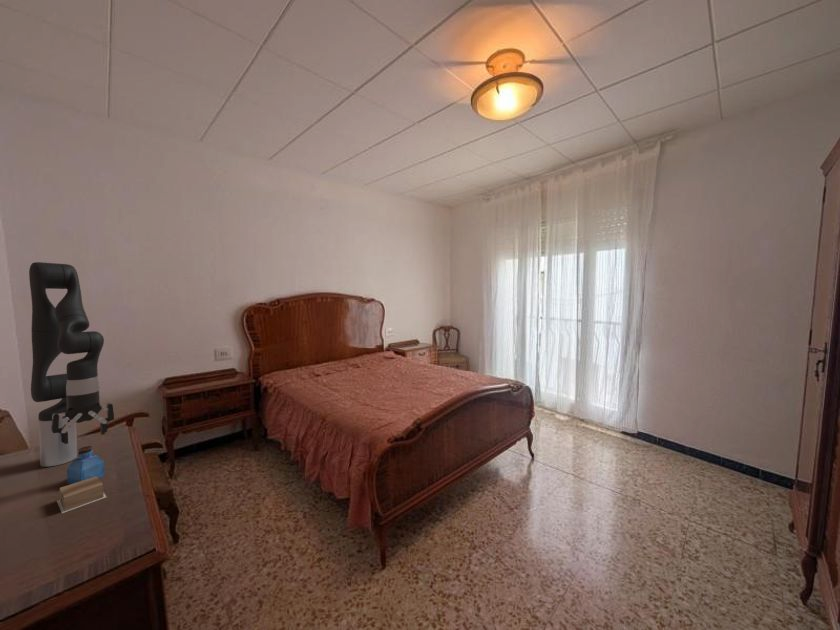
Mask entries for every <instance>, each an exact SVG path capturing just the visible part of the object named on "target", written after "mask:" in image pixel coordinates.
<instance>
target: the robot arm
mask: <svg viewBox="0 0 840 630" xmlns="http://www.w3.org/2000/svg"><path fill="white" fill-rule="evenodd" d="M28 276H29V278H28V279H29V288H30V296H31V298H30V299H31V347H32V349H31V350H32V367H31V368H32V370H31V381H30V394H31V395H30V396H31V400H32V401H34V402H36V403H41V402H42V403H44V402H48V401H54V400H59V401H58V402H57V403H55V404H54V405H51V406H49V407H48V408H45V409H42V410H41V411H39V413H38V415H37V417H38V431H39V432H38V435H39V459H40V460H39V461H40V464H39V465H40V467H42V468H43V467H44V468H45V467H46V468H48V467H55V466H59V465H63V464H66V463H68V462H71V461H72V462H73V460H75V459H77V458H78V445H77V444H78V441H77V439H78V438H77V424H80V423H83V422H88V421H89V422H90V421H92V420H93V419H95V420H96V421H98V422H100V423H99V425H100V426H99V428H100V429H99V430H100V435H102V436H103V435H105V434H106V433H107V432H108V423H109V422H112V421H114V420H115V413H114V407H113V404H112V403H111V402H107V403H106V404H100V403H101V402H100V382H99V378H98V377H99V376H98V363H99V357H100V354H101V352H102V349H103V347H104V343H105V338H104V336H103V334H101V333H100V332H99V331H95V330H94V331H93V330H92V331H86V330H88V329H89V327H90V320H89V318H88V316H87V314H86V311H85V309H84V304H83V298H82V297H83V296H82V292H81V291H82V290H81V285H80V279H79V275H78V271H77V269H76V268H75V266H73V265H72V264H66V263H57V262H54V263H53V262H39V261H37V262H36V261H35V262H32V263H31V264H30V267H29V271H28ZM47 289H49V290H50V289H51V290H52V289H53V290H55V289H56V290H66V291H67V292H66V294H65V295H64V296H63V297H62V299H61V300H60V301H59V302H58V303H57V305H56V306H55V305H53V302H51V301H50V299H49V297H48V295H47ZM61 353H62V354H65V355H75V354H83V353H84V354H85V353H86V355H85V356H84V357H82V358H80V359H79V358H78V359H75V360H72V361H69V362H68V363H67V364H66V373H62V374H61V373H60V374H51V375H47V374H48V371H49V369H50V367H51V365H52V363H53V362H54V361H55V360H56V359H57V358H58V357H59V355H60V354H61ZM102 409H104V411H106V412H107V413H106V414H107V417H106V418H104V417H103V416H101V415H100V414H99V413H100V412H101V410H102Z"/></svg>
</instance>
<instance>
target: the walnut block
mask: <svg viewBox="0 0 840 630" xmlns="http://www.w3.org/2000/svg"><path fill="white" fill-rule="evenodd" d="M102 482H103V481H101V479H100V477H99V478H98V477H97V476H96V477H92V478H89V479H86V480H83V481H80V482H77V483H74V484H70V483H69V484H68V485H65V486H64V485H63V486H62V487H59V500H60V501H61V504H62V506H63V508H64V510H65V511H67V510H70V509H72V508H75V507H78V506H81V505H83V504H86V503H89V502H92V501H94V500H97V499H100V498H103V497H104V496H103V492H104V484H103V483H102ZM103 499H104V498H103ZM100 500H101V499H100ZM97 501H98V500H97ZM92 503H93V502H92ZM89 504H90V503H89ZM86 505H87V504H86ZM81 507H82V506H81ZM78 508H79V507H78ZM75 509H76V508H75ZM70 511H71V510H70ZM67 512H68V511H67Z"/></svg>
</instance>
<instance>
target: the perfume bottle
mask: <svg viewBox="0 0 840 630" xmlns="http://www.w3.org/2000/svg"><path fill="white" fill-rule="evenodd" d="M93 452H94V450H93V446H91V445H88V446H82V447H80V448H78V452H77V458H75V459H73V460H72V462H71V463H70V464H69V465H68V467H67V468H66V473H67V476H66V477H67V484H69V485H70V484H74V483H77V482H80V481H83V480H86V479H89V478H92V477H96V476H97V477H98V478H99V479H100V478H101V477H104V476H105V462H104V460H102V458H101V457H99V456H98V455H94V454H93Z"/></svg>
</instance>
